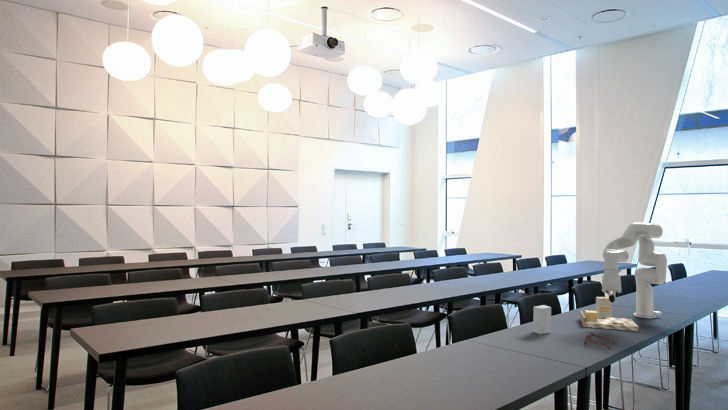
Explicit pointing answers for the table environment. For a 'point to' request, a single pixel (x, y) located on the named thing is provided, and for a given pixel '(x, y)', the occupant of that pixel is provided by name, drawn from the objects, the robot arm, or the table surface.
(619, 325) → the cream sorting tray
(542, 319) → the skincare box
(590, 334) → the glasses
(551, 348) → the table surface
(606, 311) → the supplement box
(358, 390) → the table surface
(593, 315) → the ochre block
